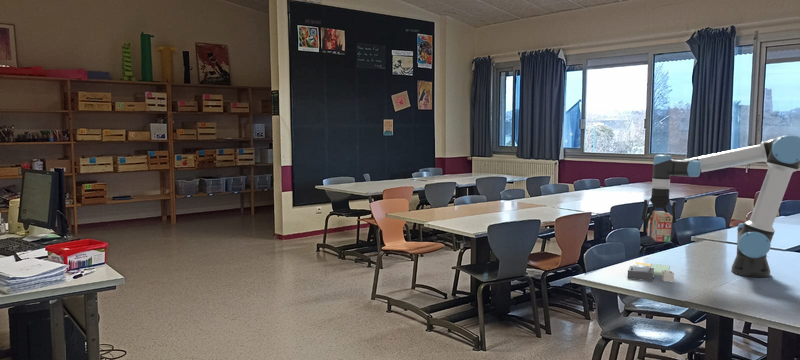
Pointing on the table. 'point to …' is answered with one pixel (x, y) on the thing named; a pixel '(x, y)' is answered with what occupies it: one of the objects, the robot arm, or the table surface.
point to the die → (667, 275)
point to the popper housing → (641, 274)
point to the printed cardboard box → (660, 226)
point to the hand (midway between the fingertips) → (657, 236)
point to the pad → (644, 264)
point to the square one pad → (660, 269)
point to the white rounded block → (641, 268)
